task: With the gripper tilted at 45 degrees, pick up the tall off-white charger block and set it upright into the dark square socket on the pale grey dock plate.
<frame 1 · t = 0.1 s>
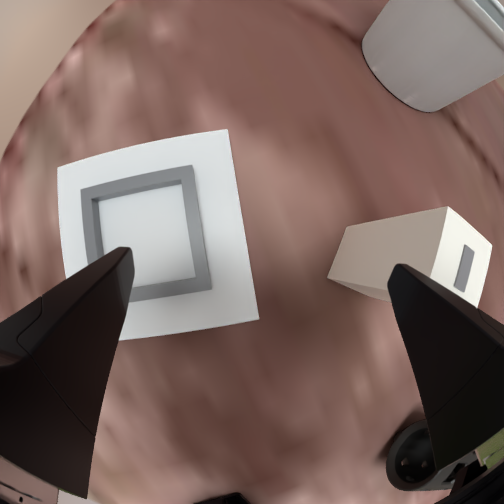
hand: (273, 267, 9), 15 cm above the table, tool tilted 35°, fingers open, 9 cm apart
charger: (359, 262, 25), on the table
utensil holder: (405, 68, 27), on the table
dock plate: (147, 238, 23), on the table
muzzle brake: (440, 444, 28), on the table
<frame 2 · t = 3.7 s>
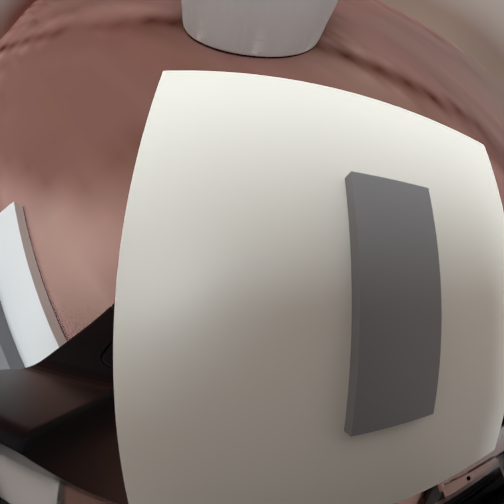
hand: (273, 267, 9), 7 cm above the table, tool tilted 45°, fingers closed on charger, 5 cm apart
charger: (246, 314, 15), on the table, touching gripper
utensil holder: (252, 22, 21), on the table
muzzle brake: (496, 456, 15), on the table
when the fingers open (9 cm above the table, at t = 7.7 s): charger stays where it is, resting on dock plate.
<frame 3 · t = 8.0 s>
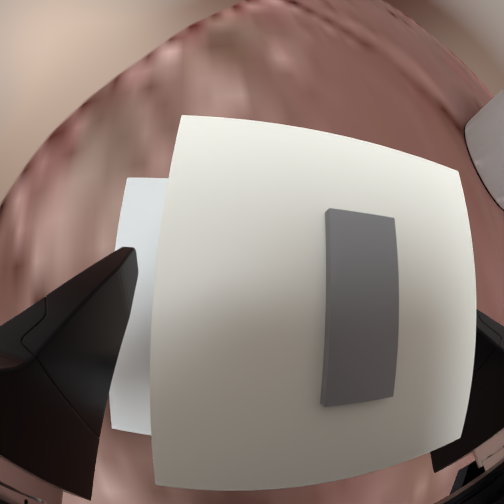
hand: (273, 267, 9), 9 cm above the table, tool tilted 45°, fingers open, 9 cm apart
charger: (245, 313, 16), point 1 cm above the table, touching dock plate
utensil holder: (494, 165, 25), on the table
dock plate: (243, 313, 17), on the table
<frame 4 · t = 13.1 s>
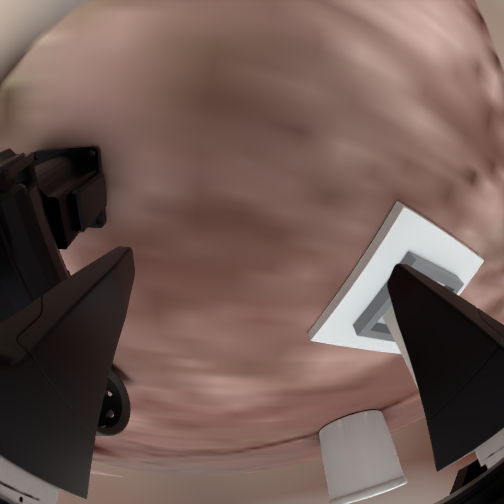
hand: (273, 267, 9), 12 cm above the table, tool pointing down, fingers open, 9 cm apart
charger: (409, 300, 26), point 1 cm above the table, touching dock plate
utensil holder: (350, 424, 47), on the table
dock plate: (404, 292, 27), on the table
muzzle brake: (60, 375, 33), on the table
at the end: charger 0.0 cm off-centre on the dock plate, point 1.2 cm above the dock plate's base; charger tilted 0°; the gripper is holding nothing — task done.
